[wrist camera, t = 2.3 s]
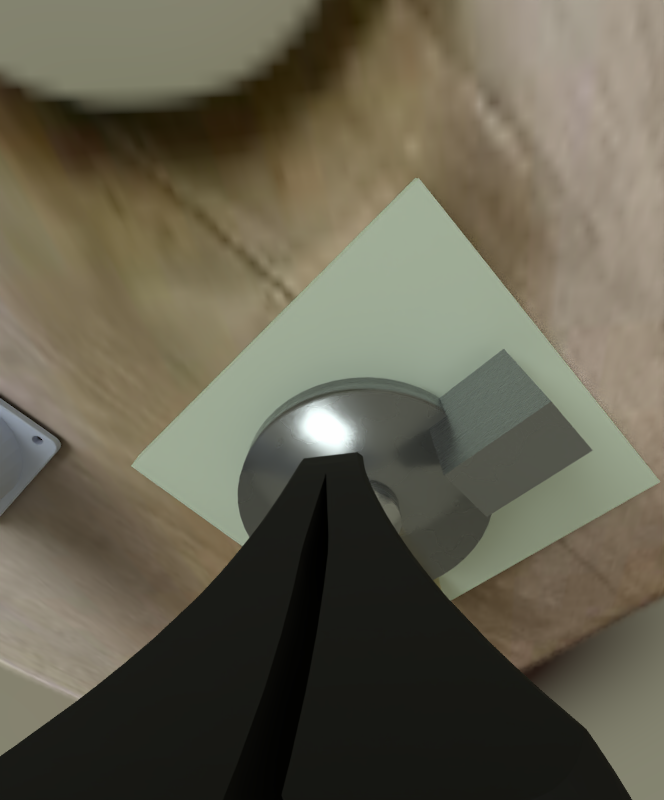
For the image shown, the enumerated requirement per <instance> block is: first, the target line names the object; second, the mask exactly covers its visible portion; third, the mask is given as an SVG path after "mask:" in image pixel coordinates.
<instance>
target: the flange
mask: <svg viewBox="0 0 664 800" xmlns="http://www.w3.org/2000/svg"><path fill="white" fill-rule="evenodd" d="M591 451H593V450H592V449H591V448H590V447H589V445H588V444H587V443H586V442H585V441H584V439H583V438H582V437H581V436H580V435H579V434H578V432H577V431H576V430H575V429H574V428H573V426H572V425H571V424H570V423H569V422H568V421H567V419H566V418H565V417H564V416H563V415H562V413H561V412H560V411H559V410H558V409H557V407H556V406H555V405H554V404H553V403H552V402H551V400H550V399H549V398H548V397H547V396H546V395H545V394H544V393H543V392H542V390H541V389H540V388H539V387H538V386H537V385H536V384H535V383H534V382H533V380H532V379H531V378H530V377H529V376H528V375H527V374H526V373H525V372H524V370H523V369H522V368H521V367H520V366H519V365H518V364H517V363H516V362H515V360H514V359H513V358H512V357H511V356H510V355H509V354H508V353H507V352H506V350H505V349H503V350H501V351H500V352H499V353H497V354H496V355H495V356H494V357H492V358H491V359H490V360H488V361H487V362H486V363H484V364H483V365H482V366H480V367H479V368H478V369H477V370H475V371H474V372H473V373H471V374H470V375H469V376H467V377H466V378H465V379H464V380H462V381H461V382H460V383H458V384H457V385H456V386H454V387H453V388H452V389H451V390H449V391H448V392H447V393H445V394H444V395H443V396H441V397H440V398H439V397H437V396H436V395H434V394H432V393H430V392H428V391H426V390H424V389H422V388H419V387H416V386H413V385H411V384H408V383H405V382H400V381H396V380H391V379H385V378H373V377H361V378H347V379H341V380H334V381H331V382H327V383H324V384H320V385H317V386H315V387H312V388H310V389H307V390H305V391H303V392H301V393H299V394H297V395H296V396H294V397H292V398H291V399H289V400H287V401H286V402H285V403H284V404H282V405H281V406H280V407H278V408H277V409H276V410H275V411H274V412H273V413H272V414H271V415H270V416H269V417H268V418H267V419H266V420H265V421H264V423H263V424H262V426H261V427H260V428H259V430H258V431H257V433H256V435H255V437H254V439H253V441H252V443H251V445H250V448H249V451H248V453H247V456H246V459H245V462H244V464H243V468H242V471H241V474H240V477H239V484H238V507H239V512H240V517H241V520H242V523H243V525H244V528H245V530H246V532H247V534H248V536H249V537H250V536H251V535H252V533H253V532H254V531H255V530H256V528H257V527H258V526H259V524H260V523H261V522H262V520H263V519H264V517H265V516H266V514H267V513H268V512H269V510H270V509H271V507H272V506H273V504H274V503H275V501H276V500H277V499H278V497H279V495H280V494H281V492H282V491H283V489H284V488H285V486H286V485H287V483H288V482H289V480H290V478H291V477H292V475H293V473H294V472H295V470H296V469H297V467H298V465H299V464H300V462H301V461H302V460H303V459H304V458H311V457H319V456H328V455H336V454H345V453H353V452H358V453H359V454H361V455H362V456H363V460H364V466H365V470H366V473H367V476H368V479H369V481H370V483H371V486H372V488H373V490H374V492H375V494H376V496H377V498H378V500H379V502H380V504H381V505H382V507H383V509H384V511H385V513H386V515H387V516H388V518H389V520H390V521H391V523H392V525H393V526H394V528H395V529H396V531H397V532H398V534H399V535H400V537H401V538H402V540H403V541H404V543H405V544H406V546H407V547H408V549H409V550H410V551H411V553H412V554H413V555H414V557H415V558H416V560H417V561H418V562H419V563H420V565H421V566H422V567H423V569H424V570H425V571H426V572H427V574H428V575H429V576H430V577H431V579H432V580H434V579H436V578H438V577H440V576H442V575H444V574H445V573H447V572H448V571H450V570H451V569H452V568H454V567H455V566H457V565H458V564H459V563H460V562H461V561H462V560H464V559H465V558H466V557H467V556H468V555H469V553H470V552H471V551H472V550H473V549H474V548H475V547H476V545H477V544H478V542H479V541H480V539H481V538H482V536H483V534H484V532H485V530H486V528H487V526H488V524H489V521H490V518H491V515H492V513H494V512H495V511H497V510H499V509H500V508H502V507H503V506H505V505H507V504H508V503H510V502H511V501H513V500H515V499H516V498H518V497H519V496H521V495H523V494H524V493H526V492H527V491H529V490H531V489H532V488H534V487H535V486H537V485H539V484H540V483H542V482H543V481H545V480H547V479H548V478H550V477H551V476H553V475H555V474H556V473H558V472H559V471H561V470H563V469H564V468H566V467H567V466H569V465H571V464H572V463H574V462H575V461H577V460H579V459H580V458H582V457H583V456H585V455H587V454H588V453H590V452H591Z"/></svg>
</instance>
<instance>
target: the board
mask: <svg viewBox="0 0 664 800" xmlns="http://www.w3.org/2000/svg"><path fill="white" fill-rule="evenodd" d="M503 349H505V350H506V352H507V353H508V354H509V355H510V356H511V357H512V358H513V359H514V360H515V362H516V363H517V364H518V365H519V366H520V367H521V368H522V369H523V370H524V372H525V373H526V374H527V375H528V376H529V377H530V378H531V379H532V380H533V382H534V383H535V384H536V385H537V386H538V387H539V388H540V389H541V390H542V392H543V393H544V394H545V395H546V396H547V397H548V398H549V399H550V400H551V402H552V403H553V404H554V405H555V406H556V407H557V409H558V410H559V411H560V412H561V413H562V415H563V416H564V417H565V418H566V419H567V421H568V422H569V423H570V424H571V425H572V426H573V428H574V429H575V430H576V431H577V432H578V434H579V435H580V436H581V437H582V438H583V439H584V441H585V442H586V443H587V444H588V445H589V447H590V448H591V449H592V450H593V451H591V452H590V453H588V454H587V455H585V456H583V457H582V458H580V459H579V460H577V461H575V462H574V463H572V464H571V465H569V466H567V467H566V468H564V469H563V470H561V471H559V472H558V473H556V474H555V475H553V476H551V477H550V478H548V479H547V480H545V481H543V482H542V483H540V484H539V485H537V486H535V487H534V488H532V489H531V490H529V491H527V492H526V493H524V494H523V495H521V496H519V497H518V498H516V499H515V500H513V501H511V502H510V503H508V504H507V505H505V506H503V507H502V508H500V509H499V510H497V511H495V512H494V513H492V515H491V518H490V521H489V524H488V526H487V528H486V530H485V532H484V534H483V536H482V538H481V539H480V541H479V542H478V544H477V545H476V547H475V548H474V549H473V550H472V551H471V552H470V553H469V555H468V556H467V557H466V558H465V559H464V560H462V561H461V562H460V563H459V564H458V565H457V566H455V567H454V568H452V569H451V570H450V571H448V572H447V573H445V574H444V575H442V576H440V577H438V578H436V579H434V580H433V581H434V582H435V583H436V585H437V586H438V587H439V588H440V589H441V591H442V592H443V593H444V594H445V595H446V596H447V598H448V599H449V600H450V601H451V600H453V599H455V598H456V597H458V596H460V595H462V594H464V593H465V592H467V591H469V590H471V589H472V588H474V587H476V586H478V585H479V584H481V583H483V582H485V581H486V580H488V579H490V578H492V577H493V576H495V575H497V574H499V573H501V572H502V571H504V570H506V569H508V568H509V567H511V566H513V565H515V564H516V563H518V562H520V561H522V560H523V559H525V558H527V557H529V556H530V555H532V554H534V553H536V552H538V551H539V550H541V549H543V548H545V547H546V546H548V545H550V544H552V543H553V542H555V541H557V540H559V539H560V538H562V537H564V536H566V535H567V534H569V533H571V532H573V531H574V530H576V529H578V528H580V527H582V526H583V525H585V524H587V523H589V522H590V521H592V520H594V519H596V518H597V517H599V516H601V515H603V514H604V513H606V512H608V511H610V510H611V509H613V508H615V507H617V506H619V505H620V504H622V503H624V502H626V501H627V500H629V499H631V498H633V497H634V496H636V495H638V494H640V493H641V492H643V491H645V490H647V489H648V488H650V487H652V486H654V485H655V484H657V483H659V482H660V481H659V480H658V478H657V477H656V476H655V475H654V473H653V472H652V471H651V469H650V468H649V467H648V466H647V464H646V463H645V462H644V461H643V459H642V458H641V457H640V456H639V454H638V453H637V452H636V451H635V449H634V448H633V447H632V446H631V444H630V443H629V442H628V441H627V439H626V438H625V437H624V436H623V434H622V433H621V432H620V431H619V429H618V428H617V427H616V426H615V424H614V423H613V422H612V420H611V419H610V418H609V417H608V415H607V414H606V413H605V412H604V410H603V409H602V408H601V407H600V405H599V404H598V403H597V402H596V400H595V399H594V398H593V397H592V395H591V394H590V393H589V392H588V390H587V389H586V388H585V387H584V385H583V384H582V383H581V382H580V380H579V379H578V378H577V376H576V375H575V374H574V373H573V371H572V370H571V369H570V368H569V366H568V365H567V364H566V363H565V361H564V360H563V359H562V358H561V356H560V355H559V354H558V353H557V351H556V350H555V349H554V348H553V346H552V345H551V344H550V343H549V341H548V340H547V339H546V338H545V336H544V335H543V334H542V332H541V331H540V330H539V329H538V327H537V326H536V325H535V324H534V322H533V321H532V320H531V319H530V317H529V316H528V315H527V314H526V312H525V311H524V310H523V309H522V307H521V306H520V305H519V304H518V302H517V301H516V300H515V299H514V297H513V296H512V295H511V294H510V292H509V291H508V290H507V289H506V287H505V286H504V285H503V283H502V282H501V281H500V280H499V278H498V277H497V276H496V275H495V273H494V272H493V271H492V270H491V268H490V267H489V266H488V265H487V263H486V262H485V261H484V260H483V258H482V257H481V256H480V255H479V253H478V252H477V251H476V250H475V248H474V247H473V246H472V245H471V243H470V242H469V241H468V239H467V238H466V237H465V236H464V234H463V233H462V232H461V231H460V229H459V228H458V227H457V226H456V224H455V223H454V222H453V221H452V219H451V218H450V217H449V216H448V214H447V213H446V212H445V211H444V209H443V208H442V207H441V206H440V204H439V203H438V202H437V201H436V199H435V198H434V197H433V195H432V194H431V193H430V192H429V190H428V189H427V188H426V187H425V185H424V184H423V183H422V182H421V180H420V179H419V178H415V179H414V180H413V181H412V182H411V183H410V184H409V185H408V186H407V187H406V188H405V189H404V190H403V191H402V192H401V193H400V194H399V195H398V196H397V197H396V198H395V199H394V200H393V201H392V202H391V203H390V204H389V205H388V206H387V207H386V208H385V209H384V210H383V211H382V212H381V213H380V214H379V215H378V216H377V217H376V218H375V219H374V220H373V221H372V222H371V223H370V224H369V225H368V226H367V227H366V228H365V229H364V230H363V231H362V232H361V233H360V234H359V235H358V236H357V237H356V238H355V239H354V240H353V241H352V242H351V243H350V244H349V245H348V246H347V247H346V248H345V249H344V250H343V251H342V252H341V253H340V254H339V255H338V256H337V257H336V258H335V259H334V260H333V261H332V262H331V263H330V264H329V265H328V266H327V267H326V268H325V269H324V270H323V271H322V272H321V273H320V274H319V275H318V276H317V277H316V278H315V279H314V280H313V281H312V282H311V283H310V284H309V285H308V286H307V287H306V288H305V289H304V290H303V291H302V292H301V293H300V294H299V295H298V296H297V297H296V298H295V299H294V300H293V301H292V302H291V303H290V304H289V305H288V306H287V307H286V308H285V309H284V310H283V311H282V312H281V313H280V314H279V315H278V316H277V317H276V318H275V319H274V320H273V321H272V322H271V323H270V324H269V325H268V326H267V327H266V328H265V329H264V330H263V331H262V332H261V333H260V334H259V335H258V336H257V337H256V338H255V339H254V340H253V341H252V342H251V343H250V344H249V345H248V346H247V347H246V348H245V349H244V350H243V351H242V352H241V353H240V354H239V355H238V356H237V357H236V358H235V359H234V360H233V361H232V362H231V363H230V364H229V365H228V366H227V367H226V368H225V369H224V370H223V371H222V372H221V373H220V374H219V375H218V376H217V377H216V378H215V379H214V380H213V381H212V382H211V383H210V384H209V385H208V386H207V387H206V388H205V389H204V390H203V391H202V392H201V393H200V394H199V395H198V396H197V397H196V398H195V399H194V400H193V401H192V402H191V403H190V404H189V405H188V406H187V407H186V408H185V409H184V410H183V411H182V412H181V413H180V414H179V415H178V416H177V417H176V418H175V419H174V420H173V421H172V422H171V423H170V424H169V426H168V427H167V428H166V429H165V430H164V431H163V432H162V433H161V434H160V435H159V436H158V437H157V438H156V439H155V440H154V441H153V442H152V443H151V444H150V445H149V446H148V447H147V448H146V449H145V450H144V451H143V452H142V453H141V454H140V455H139V456H138V457H137V459H136V460H135V461H134V463H133V464H132V465H131V466H132V467H133V468H134V469H136V470H137V471H139V472H140V473H141V474H143V475H144V476H146V477H147V478H148V479H150V480H151V481H153V482H154V483H155V484H157V485H158V486H159V487H161V488H162V489H164V490H165V491H166V492H168V493H169V494H171V495H172V496H173V497H175V498H176V499H178V500H179V501H180V502H182V503H183V504H184V505H186V506H187V507H189V508H190V509H191V510H193V511H194V512H196V513H197V514H198V515H200V516H201V517H202V518H204V519H205V520H207V521H208V522H209V523H211V524H212V525H214V526H215V527H216V528H218V529H219V530H221V531H222V532H223V533H225V534H226V535H227V536H229V537H230V538H232V539H233V540H234V541H236V542H237V543H239V544H240V545H241V546H243V545H244V544H245V542H246V541H247V540H248V539H249V536H248V534H247V532H246V530H245V528H244V525H243V523H242V520H241V517H240V512H239V507H238V484H239V477H240V474H241V471H242V468H243V464H244V462H245V459H246V456H247V453H248V451H249V448H250V445H251V443H252V441H253V439H254V437H255V435H256V433H257V431H258V430H259V428H260V427H261V426H262V424H263V423H264V421H265V420H266V419H267V418H268V417H269V416H270V415H271V414H272V413H273V412H274V411H275V410H276V409H277V408H278V407H280V406H281V405H282V404H284V403H285V402H286V401H287V400H289V399H291V398H292V397H294V396H296V395H297V394H299V393H301V392H303V391H305V390H307V389H310V388H312V387H315V386H317V385H320V384H324V383H327V382H331V381H334V380H341V379H347V378H361V377H373V378H385V379H391V380H396V381H400V382H405V383H408V384H411V385H413V386H416V387H419V388H422V389H424V390H426V391H428V392H430V393H432V394H434V395H436V396H437V397H439V398H440V397H441V396H443V395H444V394H445V393H447V392H448V391H449V390H451V389H452V388H453V387H454V386H456V385H457V384H458V383H460V382H461V381H462V380H464V379H465V378H466V377H467V376H469V375H470V374H471V373H473V372H474V371H475V370H477V369H478V368H479V367H480V366H482V365H483V364H484V363H486V362H487V361H488V360H490V359H491V358H492V357H494V356H495V355H496V354H497V353H499V352H500V351H501V350H503Z"/></svg>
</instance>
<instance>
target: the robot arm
mask: <svg viewBox="0 0 664 800" xmlns="http://www.w3.org/2000/svg"><path fill="white" fill-rule="evenodd" d="M37 436H38V437H40V438H41V439H42V440H43V441H42V440H40V439H39V438H38V437H37ZM60 447H61V443H60V441H59V440H58V439H57V438H56V437H55V436H53V435H52V434H51V433H49V432H48V431H46V430H45V429H43V428H42V427H41V426H39V425H38V424H36V423H35V422H34V421H32V420H31V419H29V418H28V417H26V416H25V415H24V414H22V413H21V412H19V411H18V410H16V409H15V408H14V407H12V406H11V405H9V404H8V403H6V402H5V401H4V400H2V399H1V398H0V516H1V515H2V514H3V513H4V512H5V510H6V509H7V508H8V507H9V506H10V505H11V504H12V503H13V501H14V500H15V499H16V498H17V497H18V496H19V495H20V493H21V492H22V491H23V490H24V489H25V488H26V487H27V486H28V484H29V483H30V482H31V481H32V480H33V479H34V478H35V476H36V475H37V474H38V473H39V472H40V471H41V470H42V469H43V467H44V466H45V465H46V464H47V463H48V462H49V461H50V460H51V458H52V457H53V456H54V455H55V454H56V453H57V452H58V450H59V449H60ZM0 800H632V799H631V797H630V795H629V794H628V792H627V790H626V789H625V787H624V786H623V784H622V782H621V781H620V779H619V778H618V776H617V774H616V773H615V771H614V769H613V768H612V766H611V765H610V763H609V762H608V761H607V759H606V757H605V756H604V754H603V753H602V752H601V750H600V748H599V747H598V745H597V744H596V742H595V741H594V740H593V738H592V737H591V735H590V734H589V732H588V731H587V730H586V729H585V728H584V727H583V726H582V725H581V724H580V723H579V722H577V721H576V720H575V719H574V718H572V716H570V715H569V714H568V713H567V712H566V711H565V710H563V709H562V708H561V707H560V706H559V705H558V704H556V703H555V702H554V701H553V700H552V699H550V698H549V697H548V696H547V695H546V694H545V693H544V692H542V690H540V689H539V688H538V687H537V686H536V685H535V684H533V682H531V681H530V680H529V679H528V678H527V677H526V676H525V675H524V674H523V673H521V672H520V671H519V670H518V669H517V668H516V667H515V666H514V665H513V664H512V663H511V662H510V661H509V660H508V659H507V658H506V657H505V656H504V655H503V654H502V653H500V652H499V651H498V650H497V649H496V648H495V647H494V646H493V645H492V644H491V643H490V642H489V641H488V640H487V639H486V638H485V637H484V636H483V635H482V634H481V633H480V632H479V631H478V629H477V628H476V627H475V626H474V625H473V624H472V623H471V622H470V621H469V620H468V619H467V618H466V617H465V616H464V615H463V614H462V613H461V612H460V610H459V609H458V608H457V607H456V606H455V605H454V604H453V603H452V602H451V601H450V600H449V599H448V598H447V596H446V595H445V594H444V593H443V592H442V591H441V589H440V588H439V587H438V586H437V585H436V583H435V582H434V581H433V580H432V579H431V577H430V576H429V575H428V574H427V572H426V571H425V570H424V569H423V567H422V566H421V565H420V563H419V562H418V561H417V560H416V558H415V557H414V555H413V554H412V553H411V551H410V550H409V549H408V547H407V546H406V544H405V543H404V541H403V540H402V538H401V537H400V535H399V534H398V532H397V531H396V529H395V528H394V526H393V525H392V523H391V521H390V520H389V518H388V516H387V515H386V513H385V511H384V509H383V507H382V505H381V504H380V502H379V500H378V498H377V496H376V494H375V492H374V490H373V488H372V486H371V483H370V481H369V479H368V476H367V473H366V470H365V466H364V460H363V456H362V455H361V454H359V453H358V452H353V453H345V454H336V455H328V456H319V457H311V458H304V459H303V460H302V461H301V462H300V464H299V465H298V467H297V469H296V470H295V472H294V473H293V475H292V477H291V478H290V480H289V482H288V483H287V485H286V486H285V488H284V489H283V491H282V492H281V494H280V495H279V497H278V499H277V500H276V501H275V503H274V504H273V506H272V507H271V509H270V510H269V512H268V513H267V514H266V516H265V517H264V519H263V520H262V522H261V523H260V524H259V526H258V527H257V528H256V530H255V531H254V532H253V533H252V535H251V536H250V537H249V539H248V540H247V541H246V542H245V544H244V545H243V546H242V548H241V549H240V550H239V551H238V553H237V554H236V555H235V556H234V558H233V559H232V560H231V561H230V562H229V563H228V565H227V566H226V567H225V568H224V569H223V570H222V572H221V573H220V574H219V575H218V576H217V577H216V578H215V579H214V580H213V581H212V583H211V584H210V585H209V586H208V587H207V588H206V589H205V590H204V591H203V592H202V593H201V594H200V595H199V596H198V597H197V598H196V599H195V600H194V601H193V602H192V603H191V604H190V605H189V606H188V607H187V608H186V609H185V610H184V611H183V612H181V613H180V614H179V615H178V616H177V617H176V618H175V619H174V620H173V621H172V622H171V623H170V624H169V625H168V626H167V627H165V628H164V629H163V630H162V631H161V632H160V633H159V634H158V635H157V636H156V637H155V638H154V639H153V640H151V641H150V642H149V643H148V644H147V645H146V646H144V647H143V648H142V649H141V650H140V651H139V652H137V653H136V654H135V655H134V656H133V657H131V658H130V659H129V660H128V661H127V662H126V663H124V664H123V665H122V666H121V667H119V668H118V669H117V670H116V671H114V672H113V673H112V674H111V675H109V676H108V677H107V678H106V679H105V680H103V681H102V682H101V683H100V684H98V685H97V686H96V687H95V688H93V689H92V690H91V691H89V692H88V693H87V694H85V695H84V696H83V697H82V698H80V699H79V700H78V701H76V702H75V703H74V704H72V705H71V706H69V707H68V708H67V709H65V710H64V711H63V712H61V713H60V714H58V715H57V716H56V717H54V718H53V719H52V720H50V721H49V722H47V723H46V724H45V725H43V726H42V727H41V728H39V729H38V730H36V731H35V732H34V733H32V734H31V735H29V736H28V737H27V738H25V739H24V740H23V741H21V742H20V743H19V744H17V745H16V746H14V747H13V748H11V749H10V750H8V751H7V752H6V753H4V754H3V755H1V756H0Z"/></svg>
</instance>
